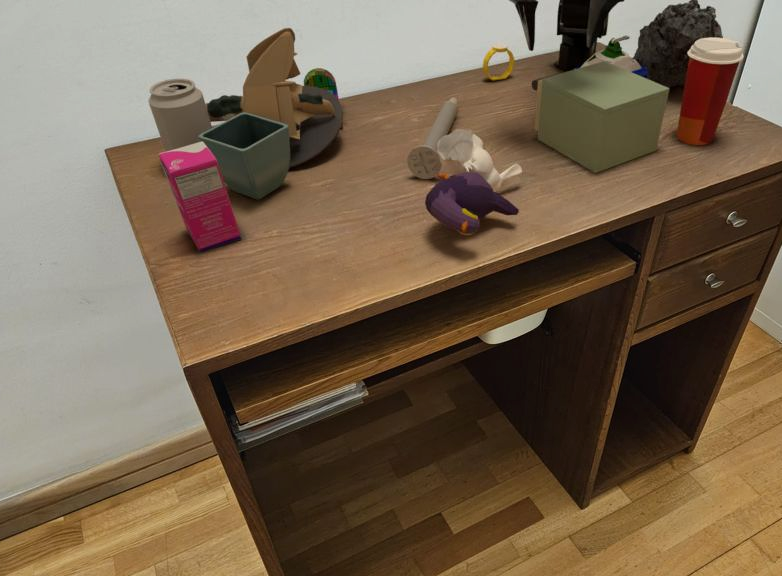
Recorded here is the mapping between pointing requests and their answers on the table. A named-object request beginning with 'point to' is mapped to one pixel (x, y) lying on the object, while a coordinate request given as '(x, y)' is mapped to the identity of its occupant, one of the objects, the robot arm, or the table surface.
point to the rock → (674, 41)
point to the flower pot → (250, 153)
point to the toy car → (617, 58)
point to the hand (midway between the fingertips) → (560, 48)
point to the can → (179, 112)
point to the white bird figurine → (471, 158)
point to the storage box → (601, 115)
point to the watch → (486, 60)
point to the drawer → (538, 98)
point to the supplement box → (200, 195)
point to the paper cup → (707, 88)
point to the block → (321, 81)
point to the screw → (432, 144)
